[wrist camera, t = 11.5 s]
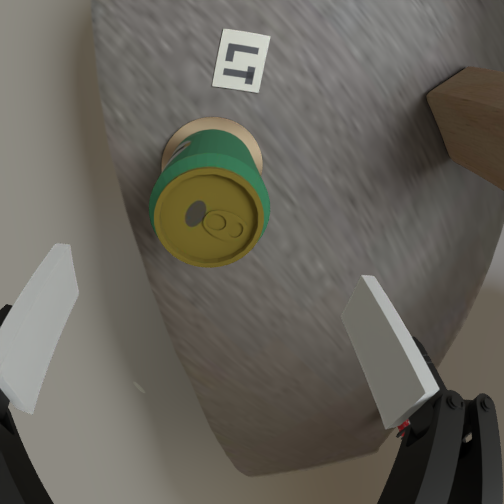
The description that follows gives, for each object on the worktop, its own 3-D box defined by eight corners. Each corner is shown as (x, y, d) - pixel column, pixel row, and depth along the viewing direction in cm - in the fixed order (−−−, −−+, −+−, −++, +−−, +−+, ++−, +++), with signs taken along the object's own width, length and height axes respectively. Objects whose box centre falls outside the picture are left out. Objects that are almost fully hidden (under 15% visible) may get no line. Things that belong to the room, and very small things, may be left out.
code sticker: (223, 28, 21) (223, 28, 21) (270, 36, 22) (270, 36, 22) (212, 86, 24) (212, 86, 24) (258, 93, 25) (258, 93, 25)
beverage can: (192, 114, 25) (173, 136, 15) (267, 149, 28) (297, 193, 17) (159, 186, 28) (129, 249, 18) (229, 215, 31) (237, 289, 21)
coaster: (168, 112, 25) (166, 112, 24) (270, 125, 27) (271, 126, 26) (159, 205, 30) (158, 207, 30) (251, 215, 32) (252, 218, 31)
